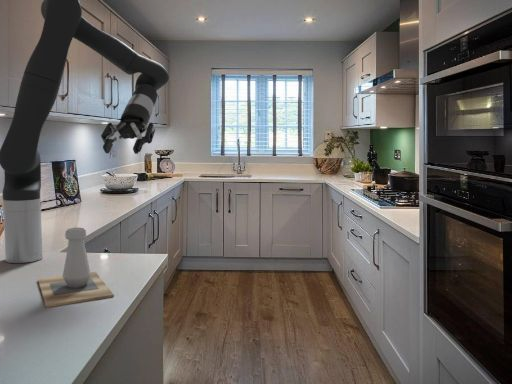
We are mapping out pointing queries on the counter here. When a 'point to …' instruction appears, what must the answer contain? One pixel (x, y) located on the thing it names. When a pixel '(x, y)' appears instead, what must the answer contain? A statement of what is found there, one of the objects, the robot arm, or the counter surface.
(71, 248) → the salt shaker
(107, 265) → the counter surface
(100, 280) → the wooden board
